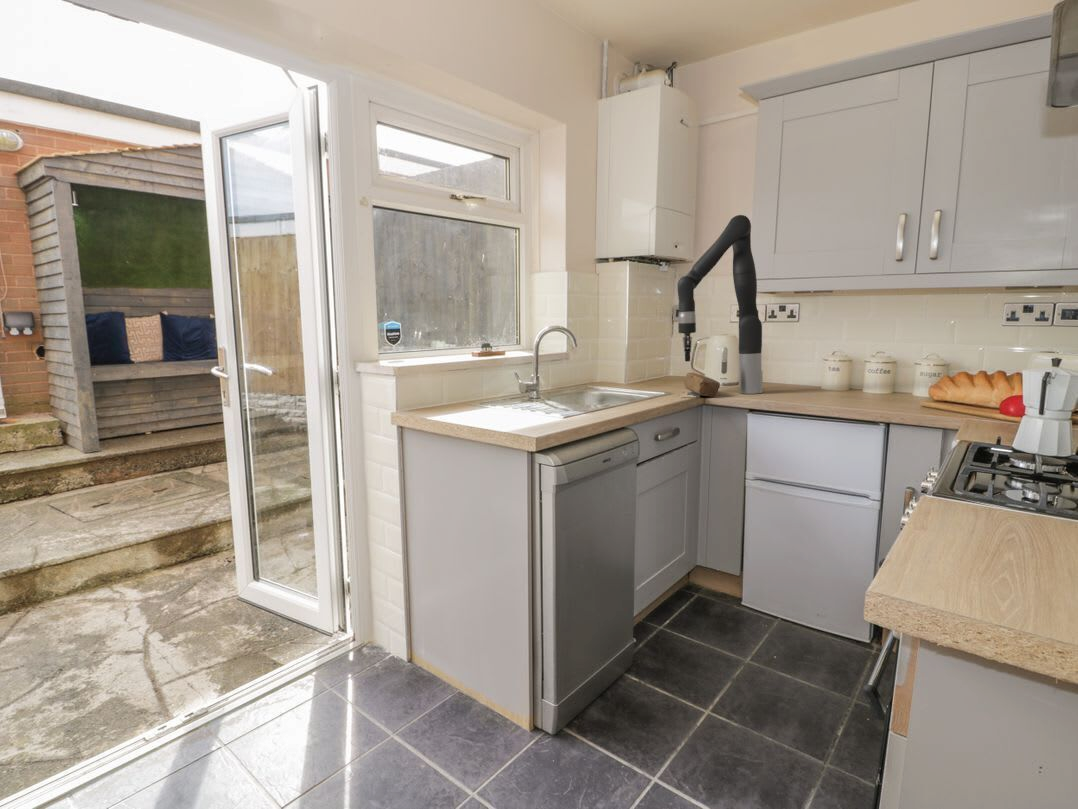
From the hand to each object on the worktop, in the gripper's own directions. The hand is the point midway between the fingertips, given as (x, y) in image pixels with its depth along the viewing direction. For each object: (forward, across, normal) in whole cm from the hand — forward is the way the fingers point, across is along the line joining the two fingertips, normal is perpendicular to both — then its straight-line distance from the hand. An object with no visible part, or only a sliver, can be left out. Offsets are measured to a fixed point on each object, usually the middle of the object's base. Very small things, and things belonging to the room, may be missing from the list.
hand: (687, 361), depth 261 cm
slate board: (+14, -10, 0) cm, 18 cm away
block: (+9, +1, -3) cm, 10 cm away
